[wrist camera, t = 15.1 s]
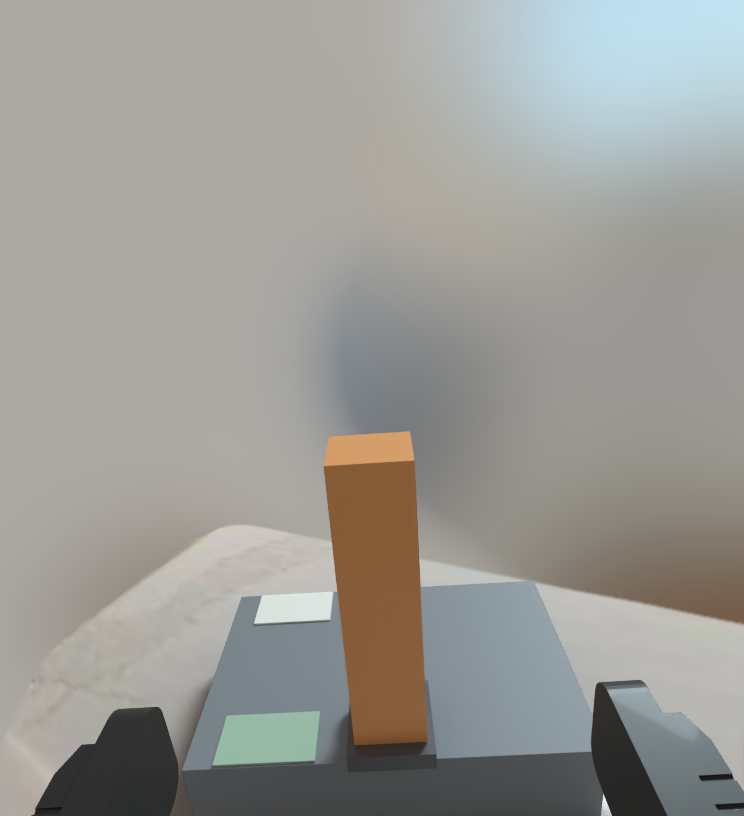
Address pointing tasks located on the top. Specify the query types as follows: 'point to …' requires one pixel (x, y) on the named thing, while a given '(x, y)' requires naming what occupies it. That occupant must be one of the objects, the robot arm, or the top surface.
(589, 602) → the top surface
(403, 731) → the handle
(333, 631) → the switch box
